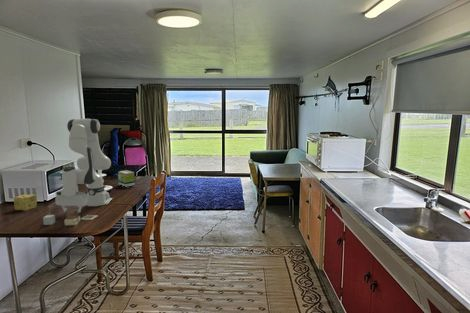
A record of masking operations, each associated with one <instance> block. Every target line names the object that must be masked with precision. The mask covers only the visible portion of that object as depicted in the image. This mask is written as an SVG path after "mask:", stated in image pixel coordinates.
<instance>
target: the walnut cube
mask: <svg viewBox="0 0 470 313" xmlns="http://www.w3.org/2000/svg"><path fill="white" fill-rule="evenodd" d="M78 209H79V208H78ZM78 209H77V208H75V209H73V208H71V209H69V210H67V212H65V213H66V218H67V219H75V218H77V217H79V216H80V215H79V212H77V210H78Z"/></svg>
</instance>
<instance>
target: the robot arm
mask: <svg viewBox="0 0 470 313" xmlns="http://www.w3.org/2000/svg"><path fill="white" fill-rule="evenodd" d="M66 126H67V130H68V132H69V136H68V147H69V149H70V150H71V151H73V152H74V153H77V154H79V155H82V156H81V157H79V158H77V160H76V167H77V168H78V169H77V168H76V167H75V166H67V167H64V168H63V169H62V172H61V182H62V189H60V190H58V191H55V199H54V200H55V205H56V206H61V208H62V210H63V213H66V212H67V211H68V208H66V206H67V207H69V206H70V207H77V208H78V210H77V212H78V214H79V213H81V211H82V208H83V207H86V206H88V207H100V206H104V205H105V206H106V205H108V204H110V203H111V202H112V201H113V200H112V199H113V197H110V193H109V192H108V191H105V189H104V188H106V186H107V185H104V182H103V180H104V177H102V176H101V175H99V174H98V172H97V171H98V170H102V171H105V170H109V169H110V168H111V166H112V161H111V159H110V158H109V157H108V156H106V155H105V154H104V152H103V151H102V149H101V146H100V141H99V135H98V133H99V132H100V130H101V124H100V121H99V119H95V118H92V119H91V118H78V119H77V118H76V119H74V118H73V119H70V120H68V122H67V125H66ZM86 184H87V185H88V187H87V188H86V191H87V192H86V193H85V192H82V191H79V185H86ZM111 200H112V201H111ZM110 201H111V202H110Z"/></svg>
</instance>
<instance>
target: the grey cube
mask: <svg viewBox="0 0 470 313" xmlns="http://www.w3.org/2000/svg"><path fill="white" fill-rule="evenodd" d="M42 219H43V220H42V221H43V226H49V225H50V226H51V225H53V224H55V222H56V214H46V215H45V216H43V217H42Z"/></svg>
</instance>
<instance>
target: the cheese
mask: <svg viewBox="0 0 470 313" xmlns="http://www.w3.org/2000/svg"><path fill="white" fill-rule="evenodd" d="M37 199H38V198H37V195H36V194H20V195H18V196H15V197H13V204H14V205H13V206H14V210H16V211H24V212H26V211H29V210H33V209H35V208H37V206H38V203H37V202H38V200H37Z"/></svg>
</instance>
